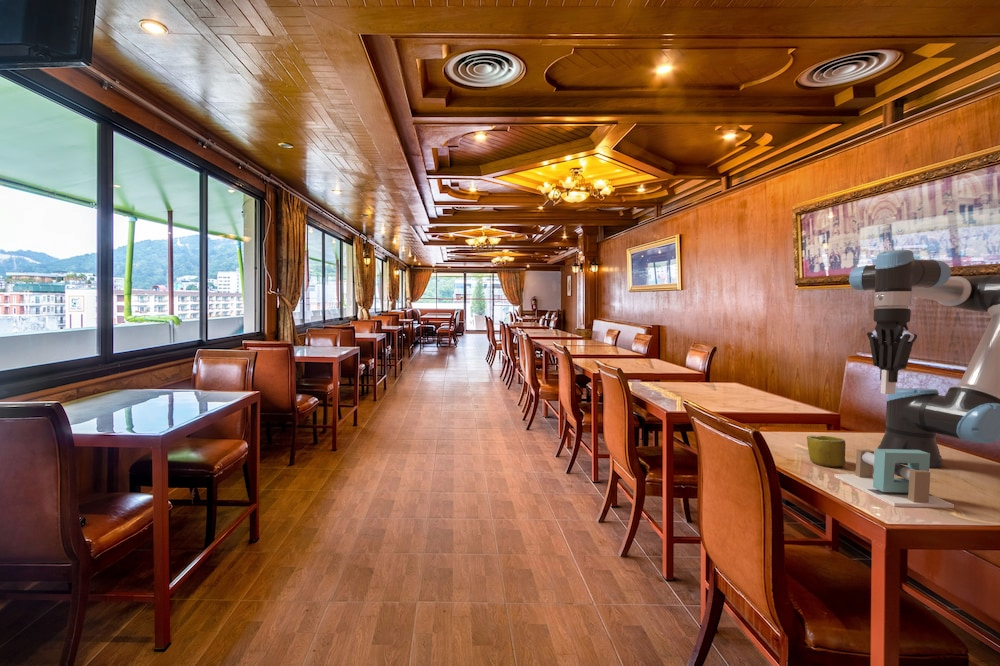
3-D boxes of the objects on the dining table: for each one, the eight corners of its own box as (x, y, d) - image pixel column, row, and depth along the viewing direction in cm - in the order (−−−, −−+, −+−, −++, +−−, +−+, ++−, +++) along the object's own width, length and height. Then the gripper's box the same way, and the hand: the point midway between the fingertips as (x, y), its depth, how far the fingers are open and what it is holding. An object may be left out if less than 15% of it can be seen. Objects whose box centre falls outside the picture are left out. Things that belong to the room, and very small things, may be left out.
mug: (861, 465, 126) (846, 431, 128) (823, 473, 128) (809, 439, 130) (840, 460, 138) (827, 429, 140) (805, 467, 140) (793, 437, 142)
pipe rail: (834, 476, 122) (835, 448, 122) (884, 478, 122) (886, 449, 121) (894, 506, 103) (896, 472, 103) (954, 507, 103) (956, 474, 102)
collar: (872, 487, 111) (874, 448, 110) (916, 488, 110) (918, 449, 110) (883, 492, 108) (885, 452, 107) (927, 493, 107) (930, 453, 107)
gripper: (858, 308, 124) (854, 389, 125) (899, 307, 111) (895, 397, 112) (884, 308, 124) (881, 389, 125) (929, 307, 111) (924, 398, 112)
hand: (887, 393), depth 118 cm, fingers closed
